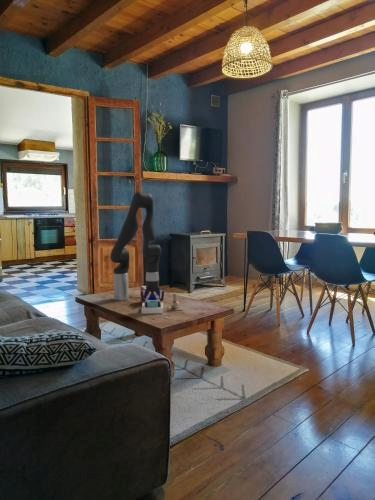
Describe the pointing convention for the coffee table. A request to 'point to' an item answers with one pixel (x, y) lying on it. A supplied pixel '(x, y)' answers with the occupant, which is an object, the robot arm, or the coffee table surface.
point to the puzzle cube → (146, 294)
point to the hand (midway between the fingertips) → (152, 307)
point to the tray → (152, 309)
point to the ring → (152, 304)
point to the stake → (175, 304)
